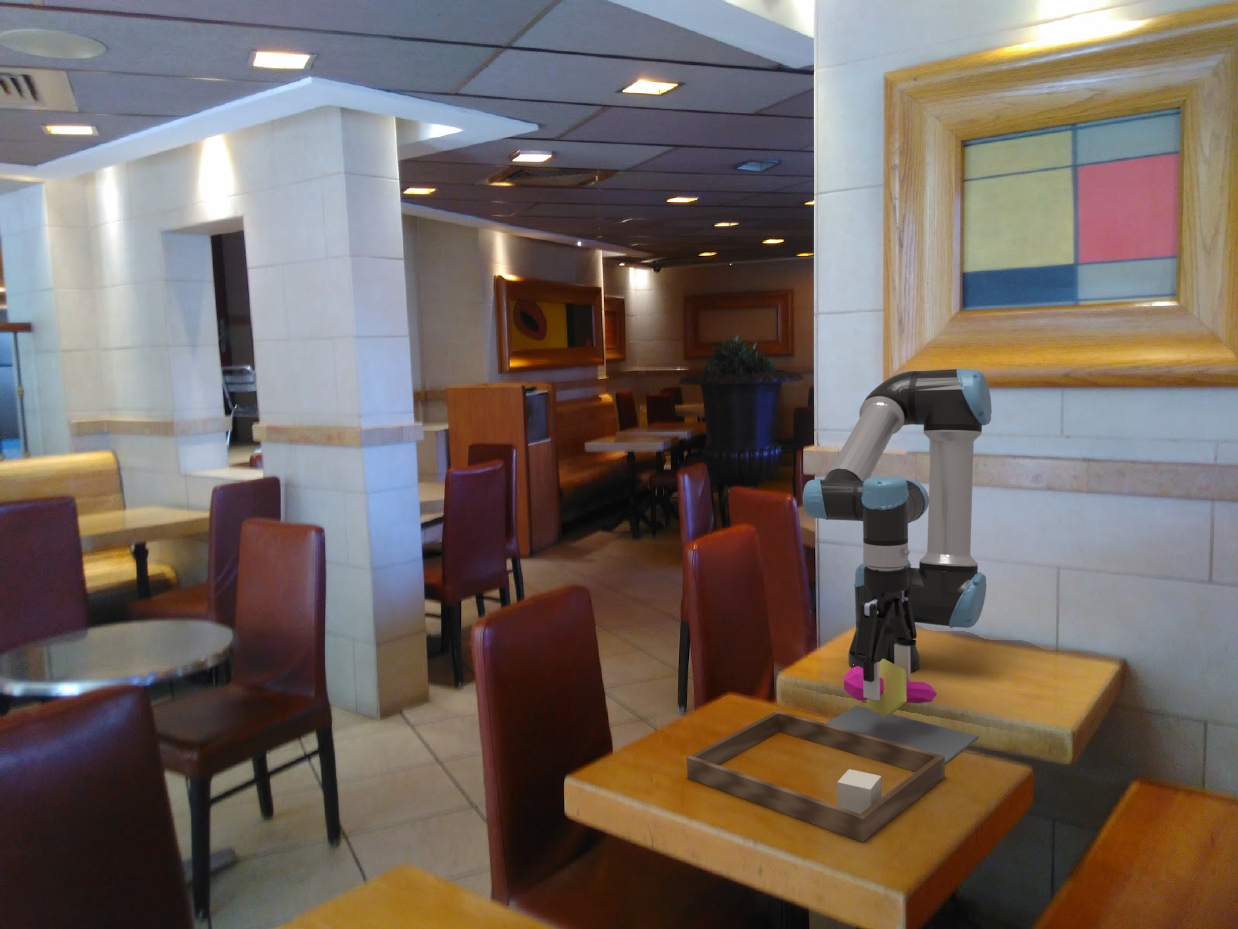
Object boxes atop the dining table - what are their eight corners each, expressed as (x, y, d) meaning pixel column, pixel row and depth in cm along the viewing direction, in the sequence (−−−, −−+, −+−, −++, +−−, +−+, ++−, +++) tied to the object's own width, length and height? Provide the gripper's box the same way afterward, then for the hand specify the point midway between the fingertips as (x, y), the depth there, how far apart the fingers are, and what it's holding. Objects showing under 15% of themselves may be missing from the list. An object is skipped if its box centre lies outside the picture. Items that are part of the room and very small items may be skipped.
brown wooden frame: (687, 778, 149) (686, 757, 148) (777, 728, 167) (777, 710, 167) (863, 842, 126) (862, 818, 126) (944, 777, 145) (944, 756, 144)
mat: (805, 736, 163) (805, 734, 163) (856, 707, 176) (856, 705, 176) (932, 774, 146) (932, 771, 146) (978, 738, 159) (978, 736, 159)
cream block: (837, 814, 135) (837, 782, 134) (849, 800, 139) (849, 769, 138) (870, 822, 132) (870, 789, 131) (881, 807, 136) (881, 776, 136)
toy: (948, 722, 157) (946, 663, 161) (861, 708, 152) (860, 647, 156) (911, 726, 166) (909, 669, 170) (827, 713, 160) (827, 655, 164)
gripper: (872, 581, 146) (874, 713, 148) (936, 557, 163) (937, 676, 165) (831, 576, 151) (834, 703, 154) (897, 552, 168) (898, 667, 170)
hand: (887, 689), depth 159 cm, fingers closed on toy, 10 cm apart
